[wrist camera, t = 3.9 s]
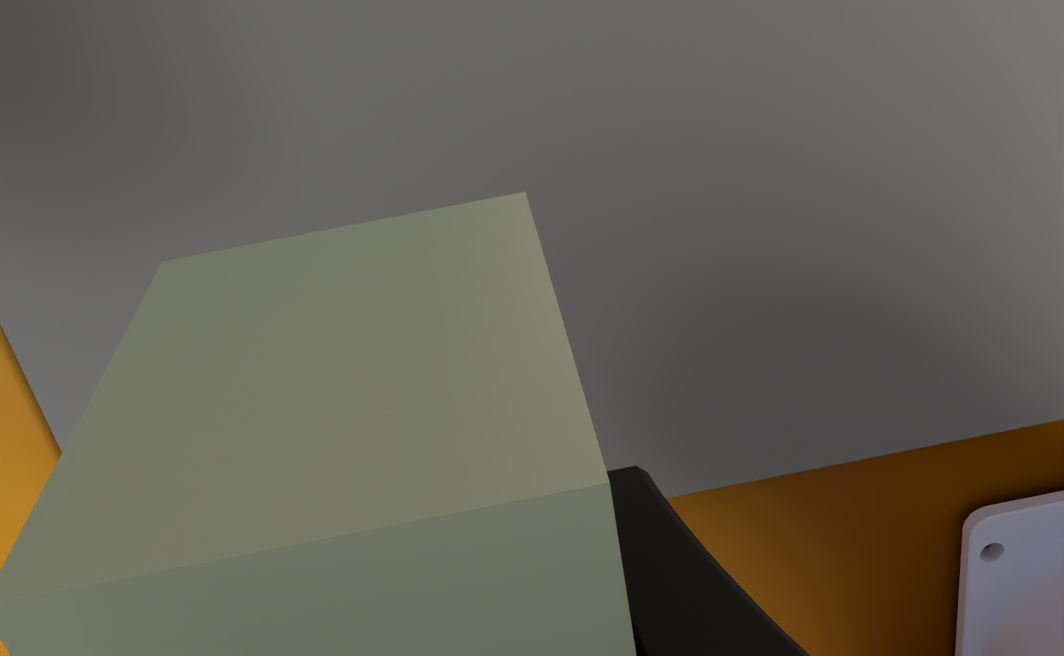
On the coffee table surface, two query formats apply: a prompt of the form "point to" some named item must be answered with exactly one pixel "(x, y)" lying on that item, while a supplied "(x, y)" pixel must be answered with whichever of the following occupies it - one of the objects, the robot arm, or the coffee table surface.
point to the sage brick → (333, 461)
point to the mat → (585, 195)
